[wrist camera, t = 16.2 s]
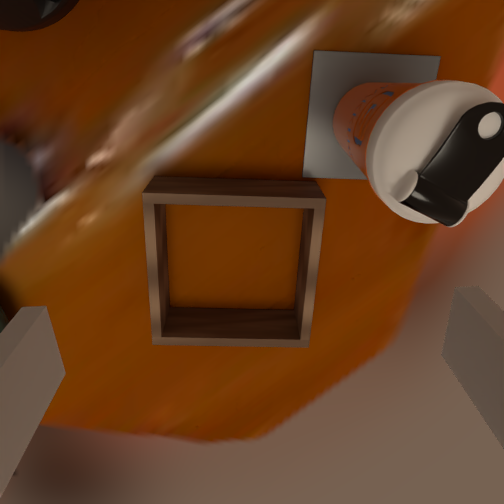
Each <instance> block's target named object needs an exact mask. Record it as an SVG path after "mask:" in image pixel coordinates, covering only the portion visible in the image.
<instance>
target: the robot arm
mask: <svg viewBox="0 0 504 504" xmlns="http://www.w3.org/2000/svg"><path fill="white" fill-rule="evenodd" d="M77 2H78V0H0V29H1V30H8V31H33V30H38V29H42V28H45V27H47V26H50V25H52V24H54V23H55V22H57V21H59V20H60V19H62V18H63V17H64V16H65V15H66V14H68V13H69V12H70V11H71V10H72V8H73V7H74V6H75V5H76V3H77ZM441 355H442V357H443V358H444V359H445V361H446V363H447V364H448V366H449V367H450V369H451V370H452V372H453V373H454V375H455V376H456V378H457V379H458V381H459V382H460V384H461V385H462V387H463V388H464V390H465V391H466V393H467V394H468V396H469V397H470V399H471V400H472V402H473V403H474V405H475V406H476V408H477V409H478V411H479V412H480V414H481V415H482V417H483V418H484V420H485V422H486V423H487V425H488V426H489V428H490V429H491V430H492V432H493V433H494V435H495V437H496V438H497V440H498V441H499V442H500V444H501V446H502V447H503V449H504V311H503V310H502V309H501V308H500V307H499V306H498V305H497V304H496V303H495V302H494V301H493V300H492V299H491V298H490V297H489V296H488V295H487V294H486V293H485V292H484V291H483V290H482V289H481V288H480V287H479V286H471V287H455V290H454V295H453V300H452V305H451V310H450V315H449V320H448V325H447V329H446V335H445V340H444V344H443V350H442V354H441ZM64 375H65V370H64V366H63V363H62V359H61V356H60V352H59V349H58V345H57V342H56V338H55V335H54V332H53V328H52V325H51V321H50V318H49V314H48V311H47V307H46V306H37V307H22V308H21V309H20V310H19V311H18V313H17V314H16V315H15V316H14V317H13V319H12V320H11V321H10V322H9V323H8V325H7V326H6V327H5V328H4V330H3V331H2V332H1V333H0V498H1V496H2V494H3V491H4V490H5V488H6V486H7V484H8V482H9V480H10V478H11V477H12V475H13V473H14V471H15V469H16V467H17V465H18V463H19V461H20V459H21V457H22V455H23V454H24V452H25V450H26V447H27V446H28V444H29V442H30V440H31V438H32V436H33V434H34V432H35V431H36V429H37V427H38V425H39V423H40V421H41V419H42V417H43V415H44V413H45V412H46V410H47V408H48V406H49V404H50V402H51V400H52V398H53V396H54V394H55V392H56V391H57V389H58V387H59V385H60V383H61V381H62V379H63V377H64Z"/></svg>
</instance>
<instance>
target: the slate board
mask: <svg viewBox="0 0 504 504" xmlns="http://www.w3.org/2000/svg"><path fill="white" fill-rule="evenodd" d="M440 57H441V56H421V55H399V54H377V53H356V52H334V51H314V53H313V64H312V75H311V86H310V97H309V108H308V119H307V129H306V140H305V151H304V162H303V173H302V177H311V178H341V179H367V178H366V176H365V175H364V174H363V173H362V171H361V170H360V169H359V168H358V166H357V165H356V164H355V163H354V162H353V160H352V159H351V158H350V157H349V155H348V154H347V153H346V152H345V150H344V149H343V148H342V147H341V146H340V144H339V143H338V141H337V139H336V137H335V134H334V130H333V117H334V113H335V110H336V107H337V105H338V103H339V102H340V100H341V99H342V97H343V96H344V95H345V94H346V93H347V92H348V91H350V90H351V89H352V88H354V87H356V86H358V85H360V84H364V83H372V82H380V83H425V82H429V81H433V80H436V77H437V72H438V67H439V62H440Z"/></svg>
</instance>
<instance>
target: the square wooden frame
mask: <svg viewBox="0 0 504 504" xmlns="http://www.w3.org/2000/svg"><path fill="white" fill-rule="evenodd" d="M142 197H143V212H144V227H145V241H146V256H147V270H148V285H149V300H150V314H151V329H152V344H153V345H197V346H254V347H309V341H310V332H311V324H312V315H313V307H314V298H315V290H316V281H317V273H318V264H319V256H320V248H321V239H322V231H323V222H324V214H325V205H326V197H325V196H324V194H323V193H322V191H321V189H320V188H319V186H318V184H317V183H316V182H313V181H283V180H254V179H224V178H194V177H164V176H154V177H153V179H152V180H151V181H150V183H149V184H148V185H147V187H146V188H145V190H144V191H143V192H142ZM165 204H184V205H216V206H248V207H280V208H304V212H303V222H302V233H301V243H300V254H299V264H298V274H297V285H296V295H295V305H294V310H270V309H223V308H176V307H170V300H169V278H168V256H167V234H166V213H165Z"/></svg>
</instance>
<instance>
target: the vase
mask: <svg viewBox="0 0 504 504" xmlns="http://www.w3.org/2000/svg"><path fill="white" fill-rule="evenodd" d="M8 323H9V321H8V318H7V316H6V314H5V312H4V310H3V309H2V307H1V305H0V333H1V332H2V331H3V330H4V328H5V327H6V326H7V325H8Z"/></svg>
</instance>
